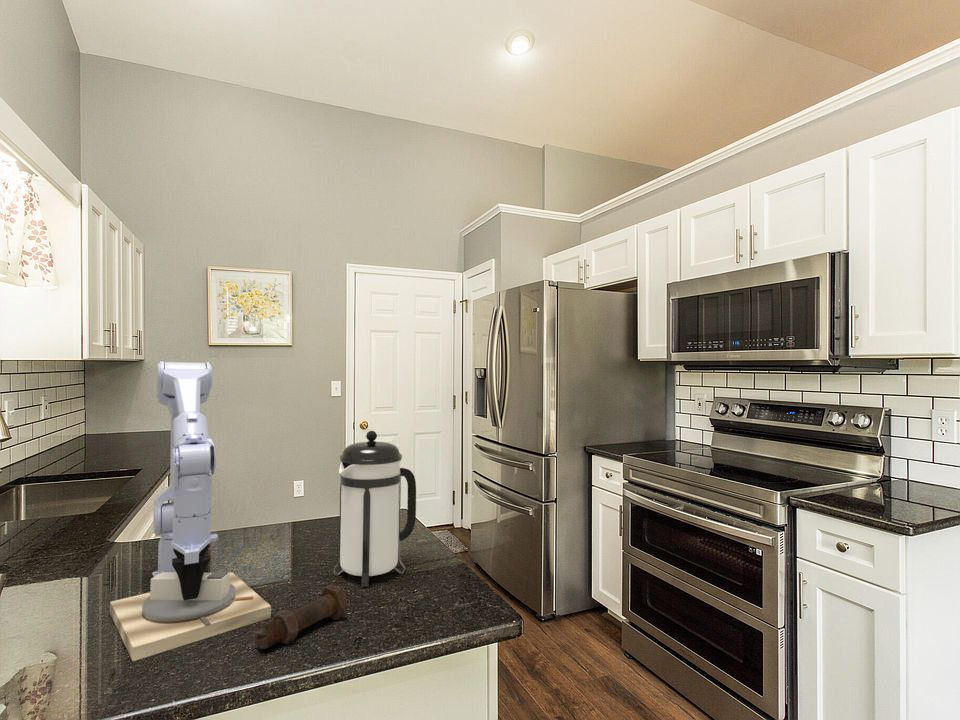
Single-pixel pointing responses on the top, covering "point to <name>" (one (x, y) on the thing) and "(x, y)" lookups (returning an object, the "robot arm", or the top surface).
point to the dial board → (184, 622)
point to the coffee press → (372, 508)
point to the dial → (172, 607)
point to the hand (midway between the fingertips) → (190, 592)
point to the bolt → (302, 618)
